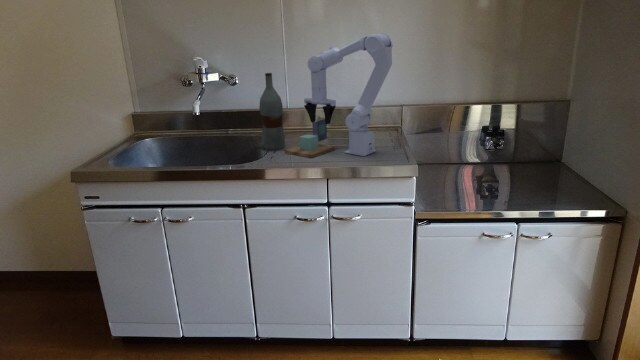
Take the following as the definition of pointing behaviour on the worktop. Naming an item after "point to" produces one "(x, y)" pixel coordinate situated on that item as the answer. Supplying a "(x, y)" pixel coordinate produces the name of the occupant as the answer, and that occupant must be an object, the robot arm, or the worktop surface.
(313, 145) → the cube
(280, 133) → the bottle
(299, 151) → the board
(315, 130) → the dark blue flat box
